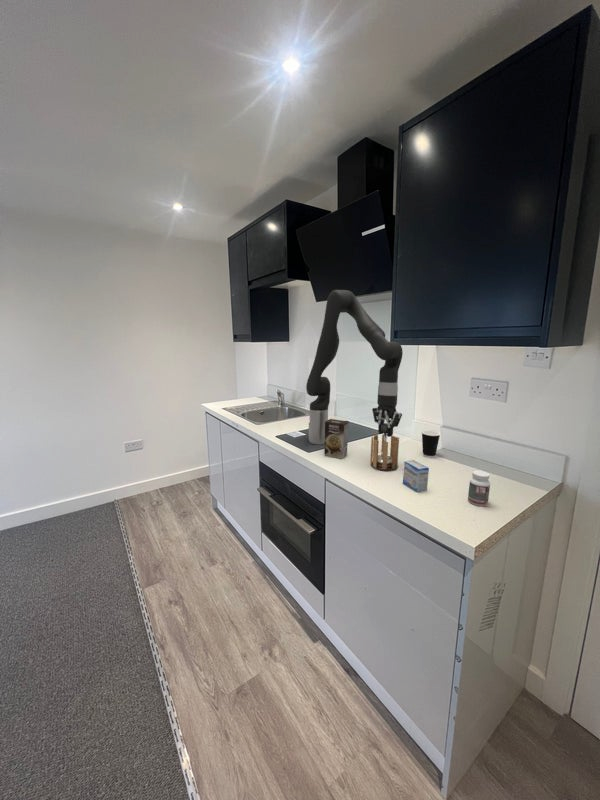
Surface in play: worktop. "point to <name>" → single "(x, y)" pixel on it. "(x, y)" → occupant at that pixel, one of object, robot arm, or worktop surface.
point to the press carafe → (384, 454)
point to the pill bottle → (479, 488)
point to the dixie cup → (430, 442)
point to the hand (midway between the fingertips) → (385, 434)
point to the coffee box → (336, 438)
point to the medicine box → (415, 475)
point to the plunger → (384, 430)
